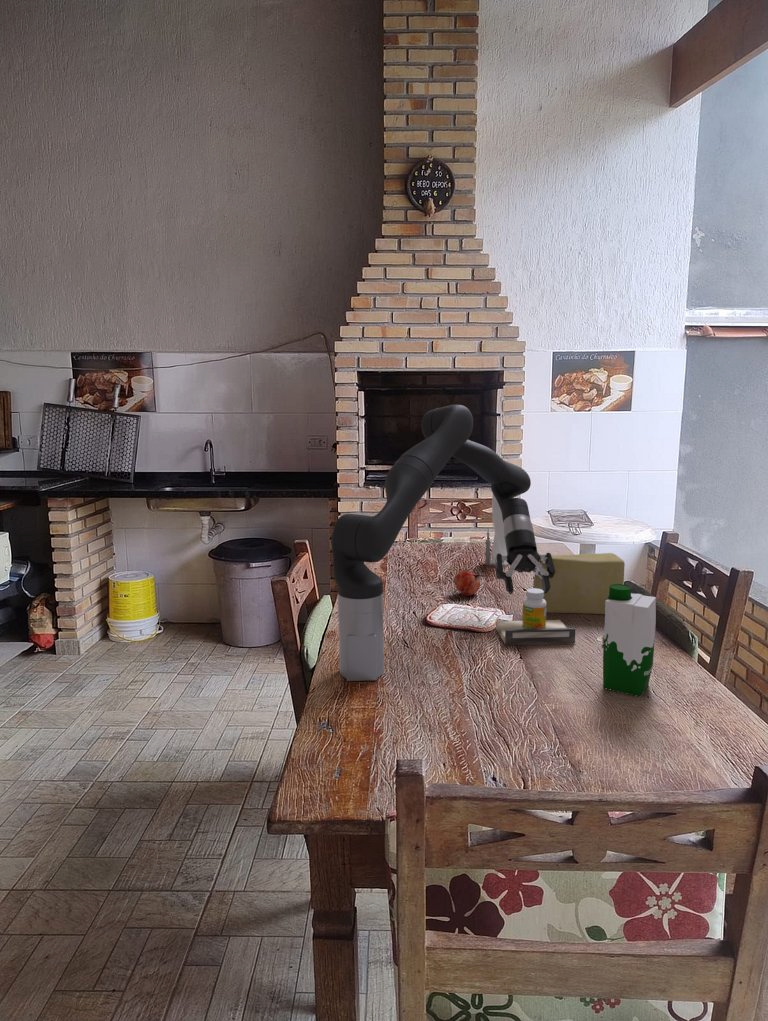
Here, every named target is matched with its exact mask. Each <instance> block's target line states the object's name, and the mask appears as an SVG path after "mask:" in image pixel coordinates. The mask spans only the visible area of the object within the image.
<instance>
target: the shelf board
mask: <svg viewBox="0 0 768 1021" xmlns="http://www.w3.org/2000/svg"><path fill="white" fill-rule="evenodd" d="M522 621H523V620H498V621H497V620H496V621H495V622H494V623H495V625H496V627H495V630H496V631H497V633H498V635H499V636H500V638H501V639H502V641H503V643H504V645H505V646H523V645H524V646H526V645H527V646H529V645H530V646H531V645H572V644H571V643H575V644H576V630H577V629H576V628H575V627H567V626H566V624H564V622H562V621H561V619H546V629H522Z"/></svg>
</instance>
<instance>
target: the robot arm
mask: <svg viewBox="0 0 768 1021" xmlns="http://www.w3.org/2000/svg"><path fill="white" fill-rule="evenodd" d="M420 424H421V426H420V427H421V432H422V435H423V436H424V440H421V441H420V442H419V443H416V444H415V445H414V446H412V447H411V448H410V449H408V450H406V451H405V452H404V453H403V454H401V455H400V457H399V458H398V459H397V460H396V462H394V464H393V465H392V466H391V468H390V469H389V470H388V472H387V474H386V475H385V476H386V477H385V481H384V489H385V496H386V503H385V504H384V506H383V507H382V508H381V510H379V512H378V513H377V514H375V515H372V516H371V515H366V514H365V515H364V514H357V513H344V514H342V515H340V516H339V517H338V519H336V520H335V523H334V526H333V529H332V533H331V534H332V535H331V548H332V549H331V550H332V561H333V576H334V577H333V578H334V581H335V584H336V586H337V603H338V604H337V605H338V606H337V608H338V611H337V612H338V613H337V614H338V618H337V619H338V650H339V651H338V652H339V654H338V656H339V658H338V659H339V674H340V676H341V677H343V678H345V679H346V681H347V682H356V681H357V682H359V681H377V680H378V678H380V677H381V676H383V674H384V673H385V662H384V659H385V657H384V656H385V654H384V653H385V652H384V651H385V650H384V649H385V647H384V643H385V642H384V637H385V636H384V581H383V579H382V577H380V576H379V575H378V574H376V573H375V572H373V571H372V570H371V569H370V568H369V567H368V566H367V565H366V564H365V563H377V562H380V561H381V560H383V559H384V558H385V557H386V556H387V554H388V553H389V551H390V550H391V549H392V547H393V545H394V543H395V541H396V539H397V538H398V536H399V533H400V532H401V530H402V528H403V526H404V524H405V522H406V521H407V520H408V518H409V516H410V515H411V513H412V512H413V511H414V509H415V508H416V506H417V504H418V503H419V502H420V500H421V499H423V496H424V495H425V494H426V493H427V491H428V490H429V488H430V487H431V486H432V484H433V483H434V481H435V479H436V478H437V476H438V475H439V473H441V471H442V470H443V469H444V468H445V466H446V464H447V463H448V462H449V461H450V459H452V457H453V459H454V458H455V459H456V460H458V461H460V462H462V463H463V464H464V465H466V466H468V467H469V468H470V469H471V470H473V471H474V472H475V473H477V475H479V477H481V478H482V479H483V480H485V481H486V482H488V483H489V484H490V489H491V492H492V496H493V495H494V496H495V498H496V500H497V502H498V504H499V507H500V509H501V512H502V518H503V530H504V538H505V543H506V550H507V556H502V555H501V554H497V556H496V559H495V563H496V566H495V573H496V579H497V580H503V581H504V585H505V590H506V592H508V594H509V595H513V593H514V584H513V577H512V576H513V575H514V574H515V572H518V573H524V572H525V573H531V572H532V573H533V574H534V575H535V574H536V575H538V576H539V577H540V578H541V579H542V586H543V591H544V593H547V592H548V591H549V589H550V582H549V578H553V576H554V574H555V572H556V571H555V568H554V564H553V560H552V556H551V555H552V554H551V553H550V552H546V553H545V554H540V553H539V552H538V548H537V547H538V546H537V543H536V537H535V532H534V526H533V523H532V520H531V515H530V511H529V506H528V503H527V501H526V500H525V499H523V498H521V497H518V496H520V495H523V494H525V493H526V492H528V491H529V489H530V488H531V485H532V483H531V477H530V475H529V474H528V472H527V471H526V470H525V469H523V468H522V467H520V466H518V465H516V464H514V463H511V462H509V461H506V460H504V459H503V458H502V457H501V456H500V455H499V454H498V453H496V452H495V451H494V450H493V449H491V448H489V447H488V446H486V445H483V444H480V443H478V442H475V441H472V440H470V436H471V434H472V432H473V428H474V417H473V414H472V412H471V411H470V409H469V408H468V407H466V406H465V405H463V404H462V405H461V404H449V405H446V406H441V407H437V408H434V409H430V410H429V411H427V412H426V413H424V414H423V417H422V419H421V423H420ZM513 497H514V498H513ZM539 560H541V561H543V563H544V564H546V568H547V571H546V570H545V569H544V568H543V566H542V565H541V564H540V563H539ZM504 561H507V563H509V568H508V570H507V571H506V572H505V571H504V570H503V569H504V567H502V564H504Z"/></svg>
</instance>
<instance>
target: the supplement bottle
mask: <svg viewBox="0 0 768 1021" xmlns="http://www.w3.org/2000/svg"><path fill="white" fill-rule="evenodd" d="M525 595H526V596H525V597H526V598H524V599H523V600H522V620H521V621H522V629H546V620H547V613H546V601H545V600H544V599H543V597H544V591H543V590H541V589H536V588H533V587H531V588H528V589H526V592H525Z"/></svg>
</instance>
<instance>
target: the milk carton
mask: <svg viewBox="0 0 768 1021" xmlns="http://www.w3.org/2000/svg"><path fill="white" fill-rule="evenodd" d="M656 607H657V597H656V596H650V595H649V596H648V595H643V594H642V593H632V587H631V586H630V585H627V584H624V585H622V584H613V585H610V588H609V595H608V598H607V599H606V601H605V614H604V630H603V632H604V634H603V636H604V643H603V652H602V687H603V688H607V689H606V690H608V689H611V690H610V691H612V690H614V691H613V692H617V691H619V692H618V693H621V692H623V694H626V693H628V694H627V695H630V694H632V695H631V696H635V695H637V696H636V697H639V696H641V695H643V693H644V692H645V690H646V688H647V687H648V685H649V683H650V678H651V674H652V670H653V666H654V657H655V656H654V655H655V654H654V652H655V639H656V638H655V637H656V625H657V624H656V621H657V620H656V619H657V617H656V616H657V615H656V614H657V613H656V612H657V609H656ZM603 688H602V689H603ZM641 697H642V696H641Z"/></svg>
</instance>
